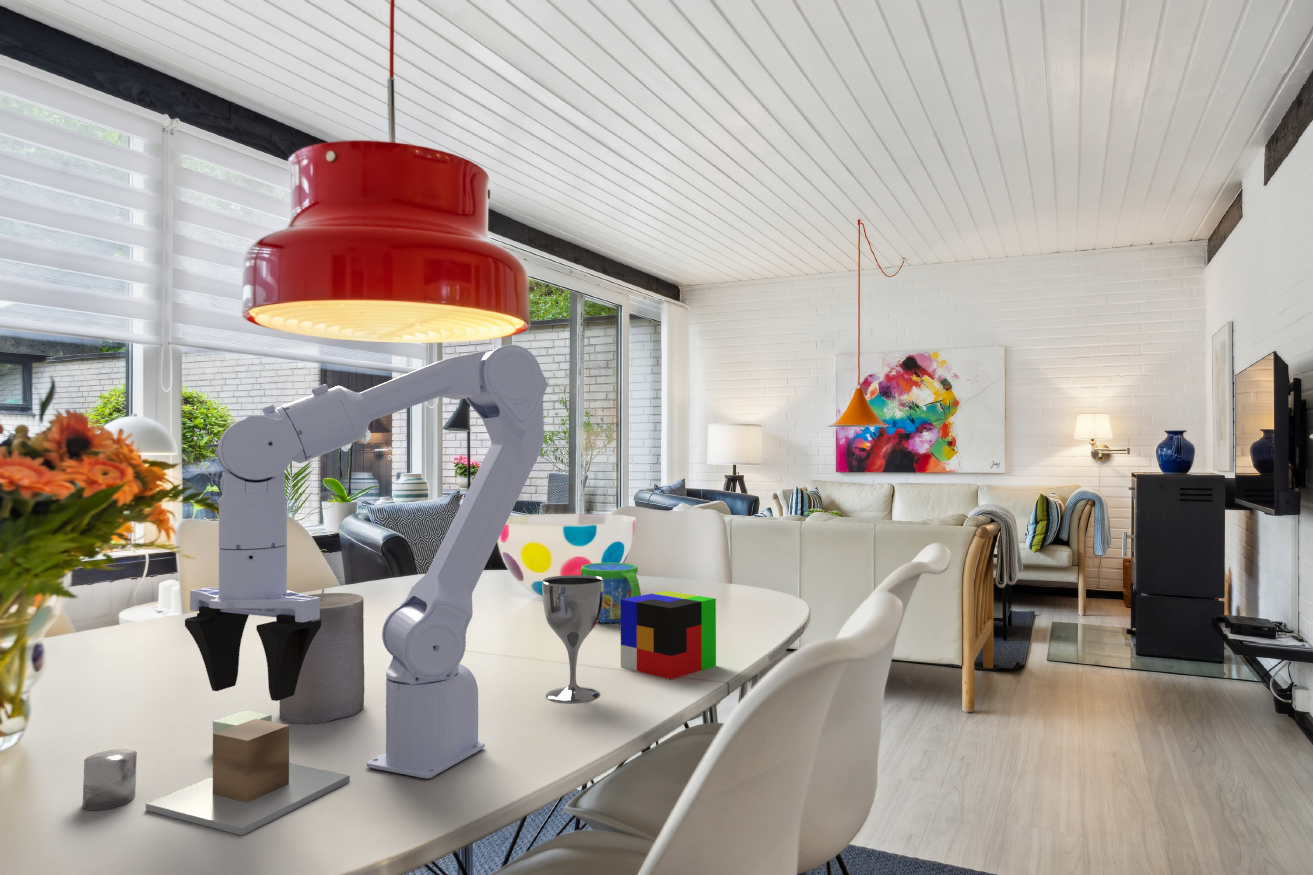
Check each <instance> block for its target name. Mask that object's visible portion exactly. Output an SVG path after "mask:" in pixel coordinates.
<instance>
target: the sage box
mask: <svg viewBox="0 0 1313 875" xmlns="http://www.w3.org/2000/svg"><path fill="white" fill-rule="evenodd" d="M272 718H273V715H272V714H268V713H264V712H258V711H253V710H246V709H245V710H242V711H239V712H236V713H233V714H230V715H227V716H224V717H222V718H219V719H216V720H213V721H212V734H213V733H216V732H219V731H222V730H225V729H228V728H231V727H233V726H236V725H239V724H242V723H245V722H248V721H251V720H254V719H259V720H264V721H270V722H273V719H272Z"/></svg>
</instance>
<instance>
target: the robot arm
mask: <svg viewBox="0 0 1313 875" xmlns="http://www.w3.org/2000/svg"><path fill="white" fill-rule="evenodd" d="M547 388H548V382H547V379H546V377H545V375H544V373H543V370H542V369H541V366H540V363H539V362H538V360H537V358H536V357H535V355H534V354H533V353H532V352H531V351H530V350H528V349H527V348H525V347H524V346H521V345H518V344H505V345H501V346H499V347H497V348H495V349H494V350H490V351H488V350H486V349H485V350H482V351H477V352H472V353H466V354H461V355H457V356H456V355H455V356H452V357H448V358H444V359H441V360H439V361H435V362H433V363H431V364H428V365H425V366H423V367H421V368H418V369H416V370H413V371H410V372H408V373H405V374H403V375H401V376H398V377H396V378H393V379H390V380H388V381H385V382H383V383H380V384H378V385H376V386H372V387H370V388H368V389H366V390H363V391H361V392H357V391H353V390H350V389H349V388H346V387H344V386H342V385H337V386H334V387H330V388H329V387H328V384H325V383H324V384H322V385H319V386H316V387H313V388H311V393H312V395H308V396H306V397H303V398H301V399H298V400H295V401H292V402H289V403H287V404H283V405H281V406H279V407H276V406H275V405H274V404H269V405H266V406H264V407H263V408H262V409H261V410H262V413H263V415H259V414H257V415H256V414H255V415H254V414H253V415H248V416H247V417H246V418H245V419H242V420H239V421H237V422H235V423H233V424H231V425H230V426H228V428H227V429H226V430H225V431H224V432H223V433H222V434H221V437H220V438H219V441H218V446H217V448H215V453H216V458H217V461H218V463H219V465H220V466H221V468H223V470H224V471H222V473H221V474H222V476H221V477H220V480H219V483H220V484H219V485H220V491H221V496H220V497H219V499H218V587H208V586H207V587H203V588H196V589H191V590H190V592H189V593H190V594H189V610H190V611H192V612H197V613H196V616H192V617H191V616H190V617H186V618H185V619H184V627H185V628H186V629H187V631H188V632H189V634H190V635H191V637H192V638H193V640H194V642H195V644H196V646H197V648H198V650H199V652H200V655H201V658H202V660H203V663H204V667H205V669H206V673H207V678H208V681H209V685H210V688H211V690H212V691H213V692H219V691H222V690H225V689H229V688H233V687H235V686H236V685H237V681H238V676H239V664H240V649H241V644H242V639H243V635H244V634H243V633H244V630H245V627H246V623H247V621H248V619H249V616H259V617H268V618H275V619H276V620H273V621H269V622H265V623H261V624H257V625H256V628H255V630H256V632H257V634H258V636H259V638H260V640H261V644H262V647H263V650H264V655H265V659H266V665H267V666H266V667H267V679H268V681H267V683H268V684H267V685H268V692H269V697H270V699H271V700H270V701H274V702H278V701H279V702H280V700H282V699H285V698H288V697H290V696H293V695H294V693H295V689H296V686H297V682H298V678H299V674H300V671H301V667H302V664H303V661H304V658H305V656H306V653H307V651H308V648H309V646H310V644H311V642H312V640H313V638H314V637H315V635H316V633H317V632H318V630H319V628H320V627H321V618H320V598H319V597H312V596H307V595H308V594H303V593H299V592H296V591H292V590H289V589H288V587H287V586H288V497H287V496H286V470H287V469H288V467H289V466H290V464H291V463H292V461H293V462H296V463H297V464H303V463H305V462H308V461H311V460H313V459H315V458H318V457H320V456H323V455H325V454H327V453H331V452H333V451H335V450H338V449H342V448H343V447H345V446H348V445H351V444H354V443H357V442H358V441H361V440H362V439H363V438H364V436H365V434H366V433H367V429H368V428H369V426H370V423H371V422H373V421H375V420H378V419H381V418H383V417H386V416H388V415H392V414H394V413H397V412H400V411H403V410H405V409H408V408H411V407H414V406H417V405H420V404H423V403H425V402H428V401H430V400H433V399H436V398H440V397H441V398H445V399H451V400H456V401H458V400H463V399H465V401H466V402H467V403H468V405H469V406H470V407H471V408H472V409H473V410H474V412H476V413H477V415H478V416H479V417H480V418H481V420H482V422H483V425H484V428H486V432H487V434H488V436H489V439H490V445H489V448H488V450H487V452H486V454H485V455H484V458H483V460H482V462H481V464H480V466H479V468H478V469H477V472H476V474H475V476H474V477H473V480H472V482H471V484H470V486H469V488H468V490H467V492H466V494H465V496H464V498H463V500H462V502H461V504H460V506H459V508H458V510H457V511H456V514H455V515H454V518H453V520H452V522H451V524H450V526H449V528H448V530H447V531H446V534H445V536H444V538H443V540H442V542H441V544H440V545H439V548H438V550H437V551H436V554H435V555H434V558H433V560H432V562H431V564H430V566H429V568H428V570H427V571H426V573H425V574H424V575H423V576H422V577H421V578H420V579H419V580H418V581H417V582H416V583H415V584H414V585H413V586H412V587H411V589H410V591H409V592H408V595H407V597H406V598H405V599H404V600H403V601H402V603H400V604H399V605H398V606H397V607H396V608H394V609H393V610H392V611H391V612H390V613H389V614H388V616H387V617H386V619H385V621H384V622H383V623H384V624H383V626H382V630H381V631H382V632H381V633H382V634H381V638H382V642H383V645H384V646H383V647H384V648H385V650H386V651H387V652H388V653H389V654H390V655H391V656H392V659H391V662H390V664H389V666H388V667H387V670H386V672H385V677H386V678H385V679H386V683H385V687H386V688H385V693H386V695H385V752H384V753H382V754H380V755H378V756H376V757H373V758H372V759H370V760H368V761H366V767H367V768H370V769H375V770H380V771H386V772H391V773H394V774H395V773H396V774H400V775H406V776H410V777H411V776H412V777H416V778H421V779H431V778H434V777H435V776H436V775H437V776H438V774H440V773H441V772H444V771H446V770H448V769H449V768H451V767H453V766H454V765H456V764H459V762H461V761H463V760H465V759H466V758H469V757H471V756H472V755H473V754H476V753H477V752H479V751H481V750H482V749H485V747H486V745H485V742H483V741H479V687H478V684H477V680H476V677H475V676H474V674H473V672H472V671H471V670H470V669H469V668H468V667H466V666H465V665H463V664H461V662H462V660H463V658H464V654H465V651H466V647H467V646H466V644H467V641H466V640H467V638H466V636H467V631H468V627H469V624H470V623H471V620H472V618H473V610H474V609H473V593H474V590H475V588H476V586H477V584H478V582H479V580H480V578H481V575H482V574H483V571H484V570H485V567H486V565H487V563H488V561H489V559H490V557H491V556H492V553H493V551H494V549H495V547H496V544H497V543H498V540H499V538H500V536H501V535H502V532H503V530H504V528H505V526H506V524H507V522H508V520H509V518H510V516H511V513H512V512H513V509H514V508H515V505H516V503H517V502H518V500H519V497H520V495H521V494H522V493H521V492H522V491H523V490H524V486H525V485H526V483H527V481H528V478H529V476H530V474H531V472H532V470H533V468H534V466H535V463H536V461H537V460H538V457H539V455H540V453H541V452H542V449H543V446H544V441H545V432H544V431H545V428H544V422H545V420H544V397H545V394H546V391H547Z"/></svg>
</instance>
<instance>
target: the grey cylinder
mask: <svg viewBox="0 0 1313 875" xmlns="http://www.w3.org/2000/svg"><path fill="white" fill-rule="evenodd" d="M137 756H138V753H137V751H136V750H134V749H130V748H129V749H127V748H119V749H110V750H109V749H108V750H105V751H100V752H97V753H94V754H91V755H89V756H87V757H86V758H85V759H84V760H83V761H84V762H83V781H82V782H83V785H82V787H83V788H82V808H83V809H84V810H87V811H104V810H109V809H110V810H111V809H116V808H120V807H122V806H125V805H127V804H129V803H131V802H133V801H134V800H135V798H136V791H137V790H136V785H137V783H136V782H137V758H138V757H137Z"/></svg>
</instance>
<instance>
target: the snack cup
mask: <svg viewBox="0 0 1313 875" xmlns="http://www.w3.org/2000/svg"><path fill="white" fill-rule="evenodd" d="M638 572H639V570H638V567H637V566H636V565H635V564H633V563H625V562H624V563H623V562H595V563H594V562H593V563H588V564H584V565H582V566H581V568H580V575H588V576H596V577H600V578H603V602H602V609H601V613H600V617H599V620H598V622H597V623H603V624H605V623H608V624H617V623H621V599H625V598H631V597H636V596H641V595H642V593H641V587H640V583H639V579H638V576H637V574H638Z"/></svg>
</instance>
